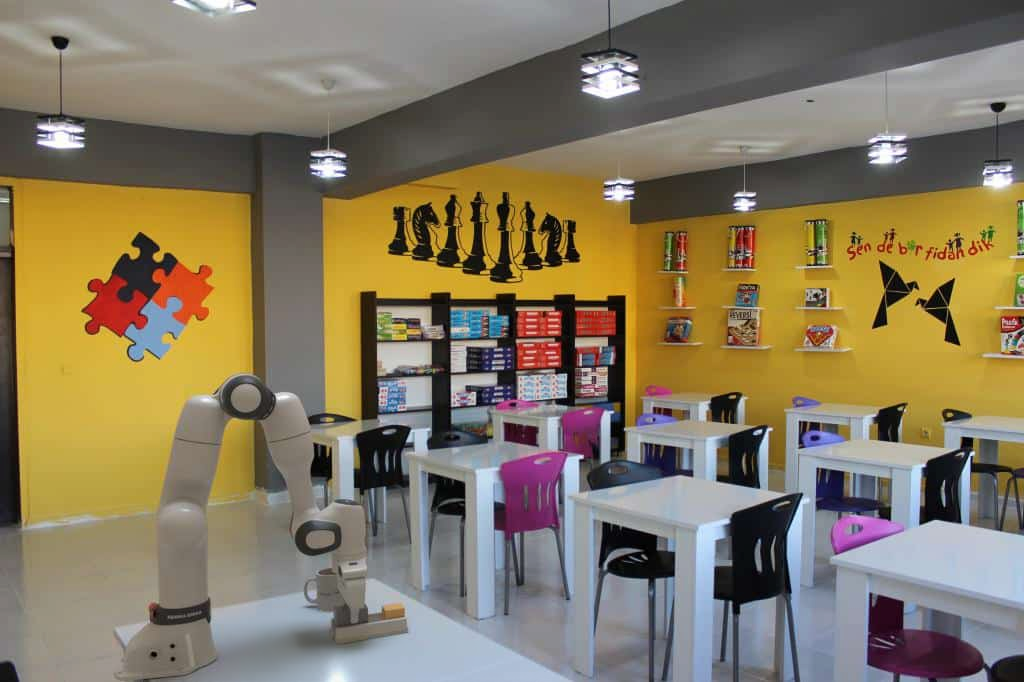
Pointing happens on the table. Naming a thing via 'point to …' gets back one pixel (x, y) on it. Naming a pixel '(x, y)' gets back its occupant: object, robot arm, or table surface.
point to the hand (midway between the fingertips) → (350, 616)
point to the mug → (325, 590)
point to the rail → (374, 625)
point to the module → (348, 616)
